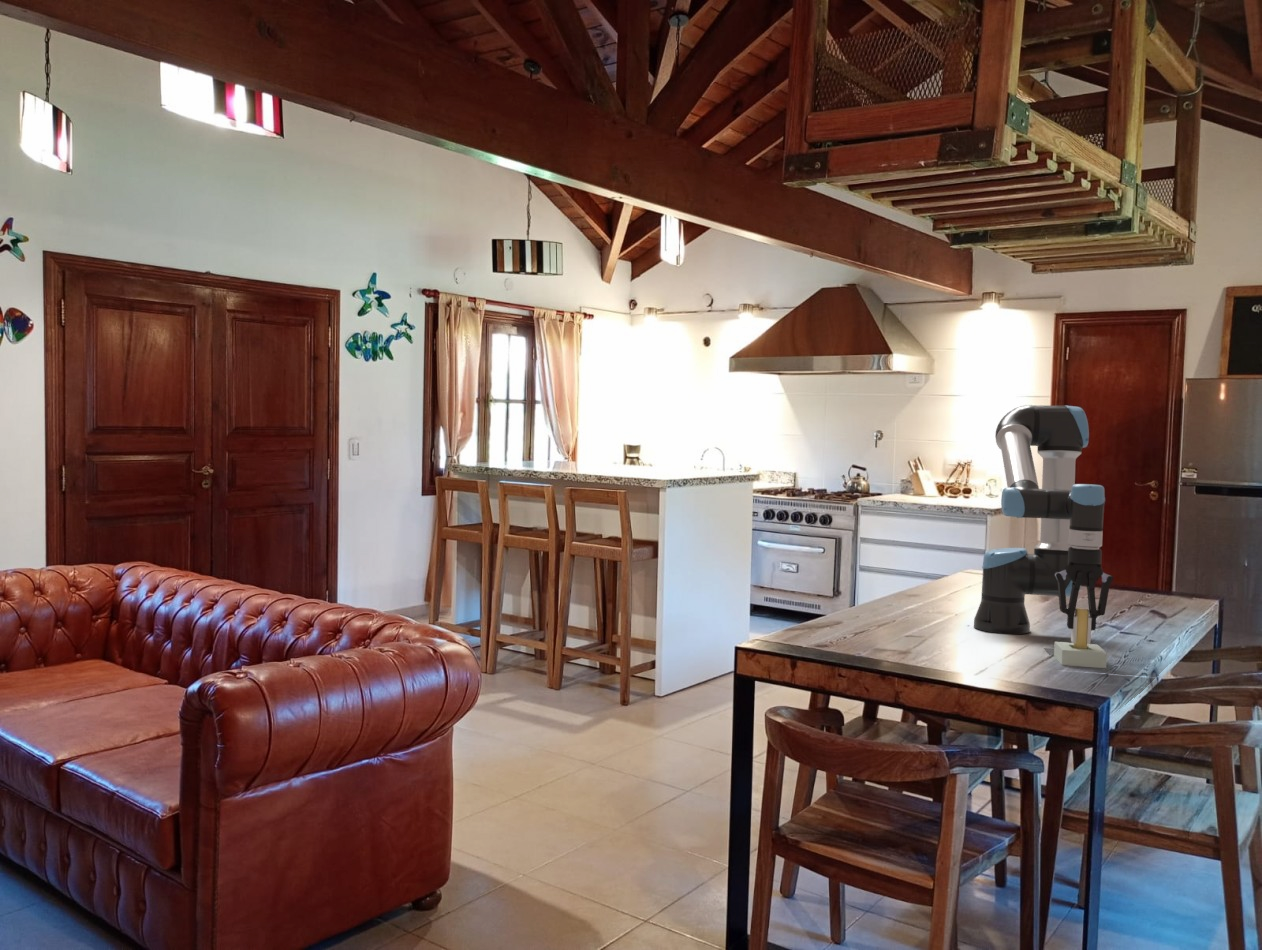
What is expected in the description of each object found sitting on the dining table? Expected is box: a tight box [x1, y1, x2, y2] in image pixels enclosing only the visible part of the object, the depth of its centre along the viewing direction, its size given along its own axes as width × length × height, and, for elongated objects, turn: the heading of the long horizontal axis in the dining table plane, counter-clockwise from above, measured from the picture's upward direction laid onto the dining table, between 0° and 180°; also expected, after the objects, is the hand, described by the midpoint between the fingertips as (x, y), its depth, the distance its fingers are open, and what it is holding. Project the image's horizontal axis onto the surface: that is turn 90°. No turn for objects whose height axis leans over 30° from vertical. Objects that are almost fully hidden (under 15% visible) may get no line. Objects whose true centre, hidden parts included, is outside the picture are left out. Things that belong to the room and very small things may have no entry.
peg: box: [1074, 607, 1090, 649], centre depth 247 cm, size 3×3×12 cm
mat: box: [1043, 647, 1054, 656], centre depth 257 cm, size 12×8×1 cm, turn 77°
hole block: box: [1053, 641, 1108, 669], centre depth 248 cm, size 10×10×4 cm
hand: (1080, 642), depth 247 cm, fingers closed on peg, 2 cm apart
